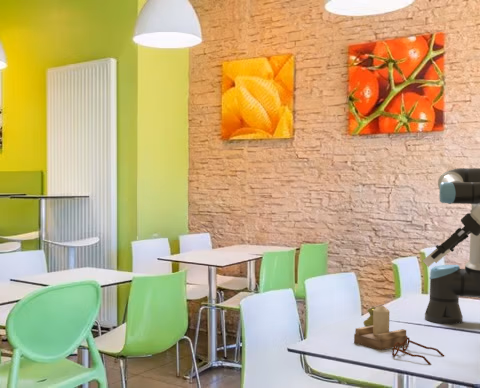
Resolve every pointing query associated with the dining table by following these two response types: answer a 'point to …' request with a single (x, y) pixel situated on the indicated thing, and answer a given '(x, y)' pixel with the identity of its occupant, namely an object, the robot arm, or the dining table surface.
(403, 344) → the glasses
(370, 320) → the brass knob
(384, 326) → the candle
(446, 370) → the dining table surface
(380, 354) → the dining table surface
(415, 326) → the dining table surface
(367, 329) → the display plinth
